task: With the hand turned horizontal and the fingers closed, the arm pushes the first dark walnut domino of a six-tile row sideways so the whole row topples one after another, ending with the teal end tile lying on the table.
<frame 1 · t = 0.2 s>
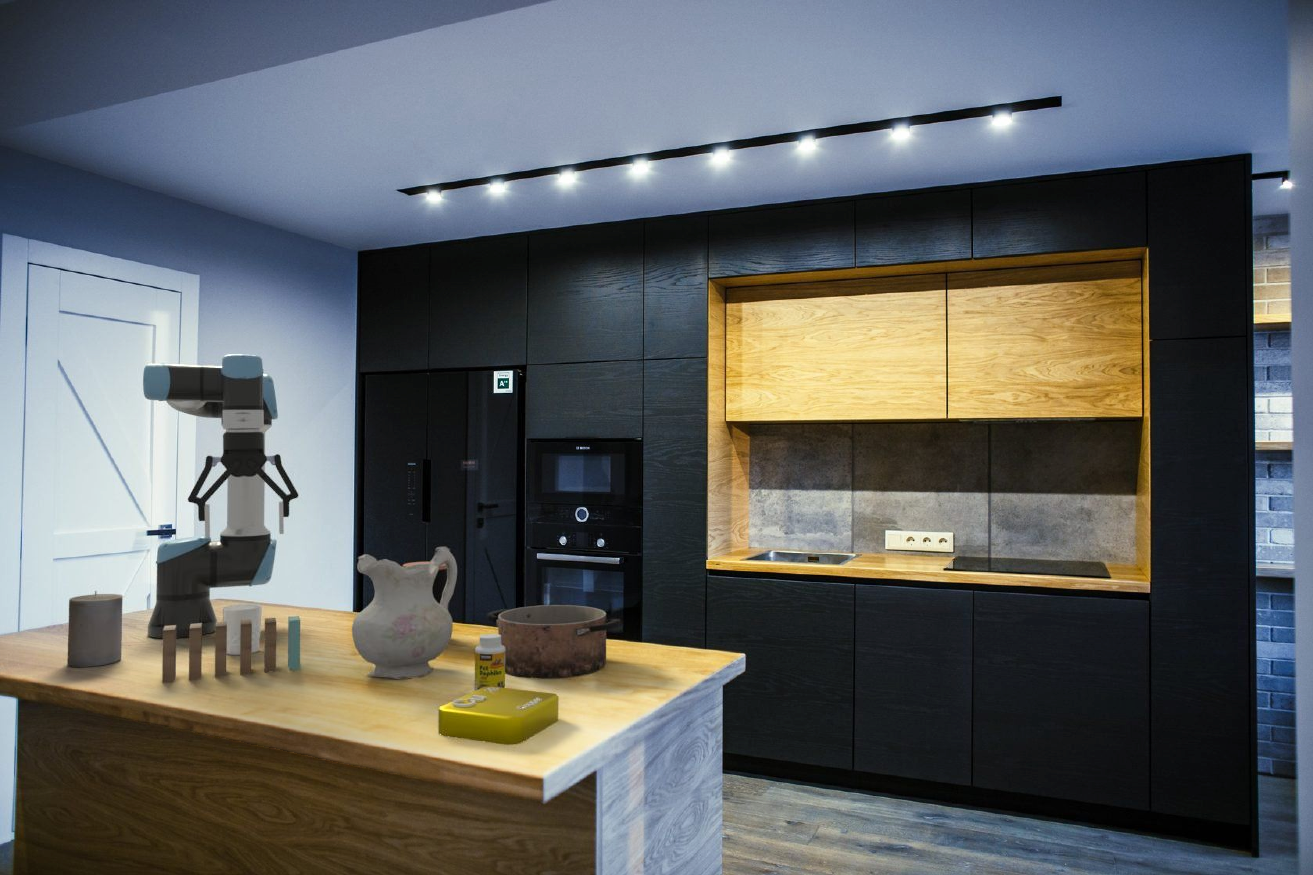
hand: (245, 535, 176), 27 cm above the worktop, fingers open, 13 cm apart
domino 3: (220, 673, 173), on the worktop
white cup: (242, 652, 193), on the worktop
ceramic pitcher: (407, 672, 175), on the worktop
coffee jar: (425, 641, 204), on the worktop
element tile: (499, 729, 140), on the worktop
domino 1: (169, 679, 169), on the worktop
domino 6: (293, 666, 179), on the worktop
pillar candle: (95, 662, 183), on the worktop
domino 4: (245, 671, 175), on the worktop
domino 5: (270, 669, 177), on the worktop
domino 2: (195, 676, 171), on the worktop
cooking pot: (552, 666, 180), on the worktop
supplement bottle: (489, 692, 160), on the worktop
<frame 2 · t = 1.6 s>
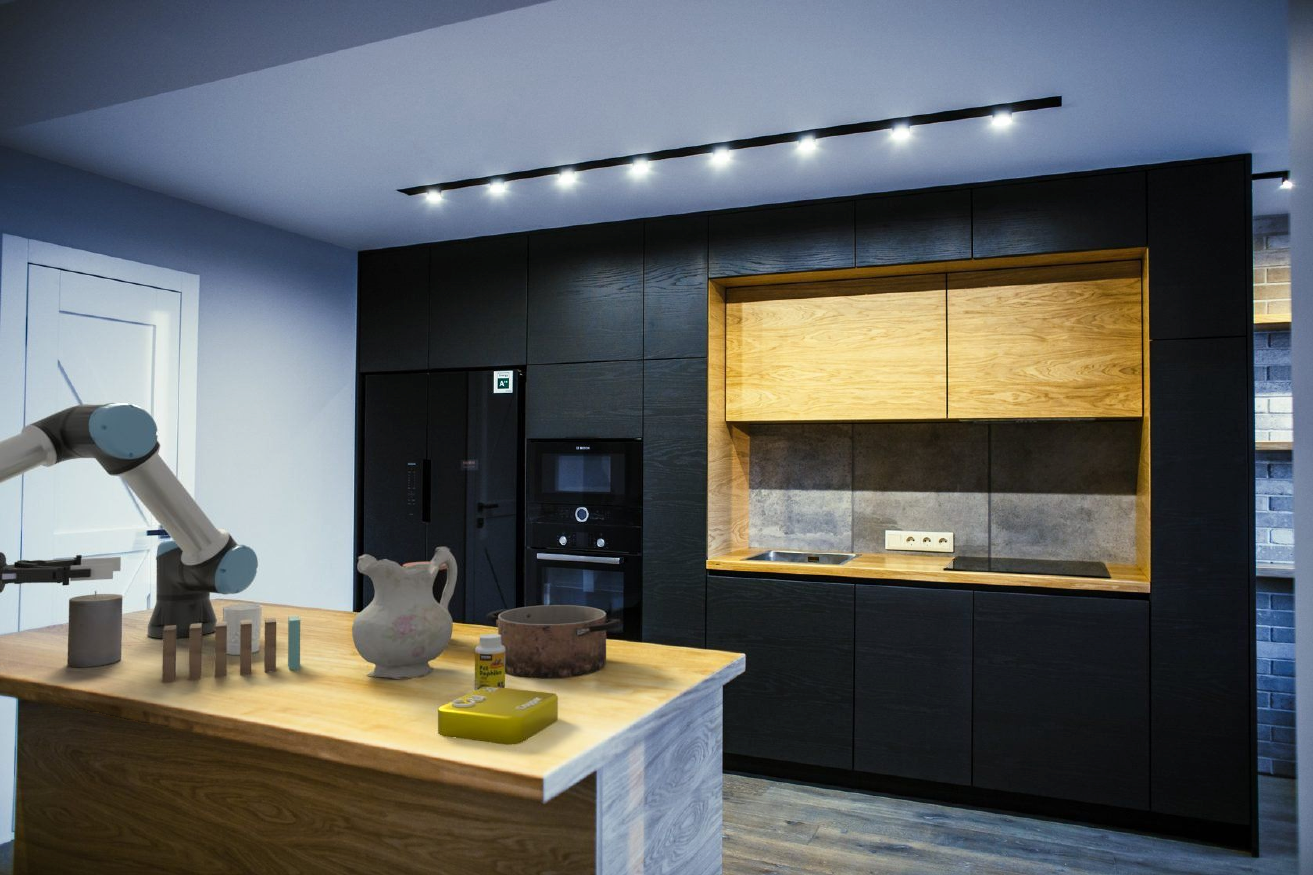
hand: (116, 567, 165), 22 cm above the worktop, fingers open, 12 cm apart
nothing on the worktop moved.
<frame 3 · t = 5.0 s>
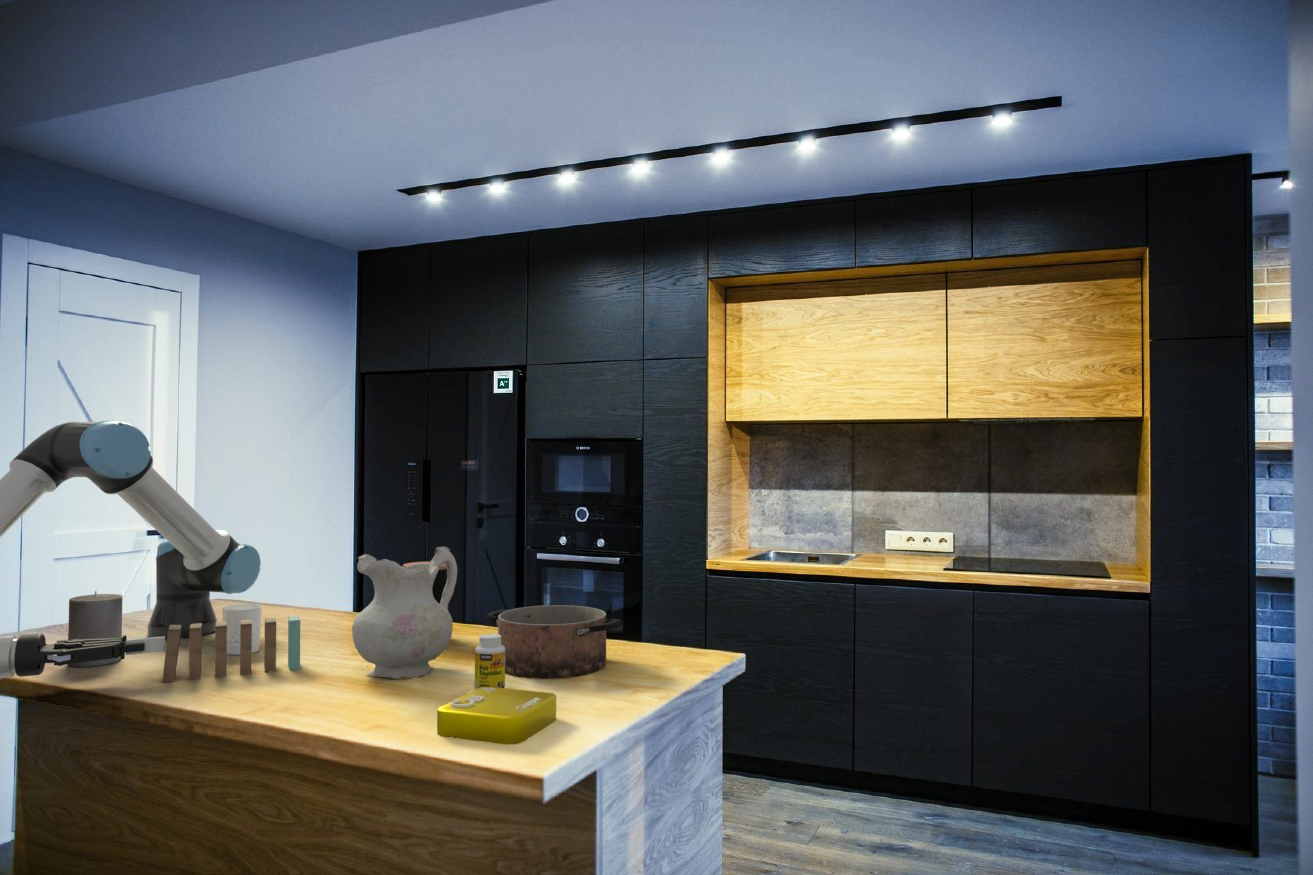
hand: (164, 643, 169), 7 cm above the worktop, fingers closed
domino 1: (169, 678, 169), on the worktop, tilted 5°, touching gripper
everything else where it was.
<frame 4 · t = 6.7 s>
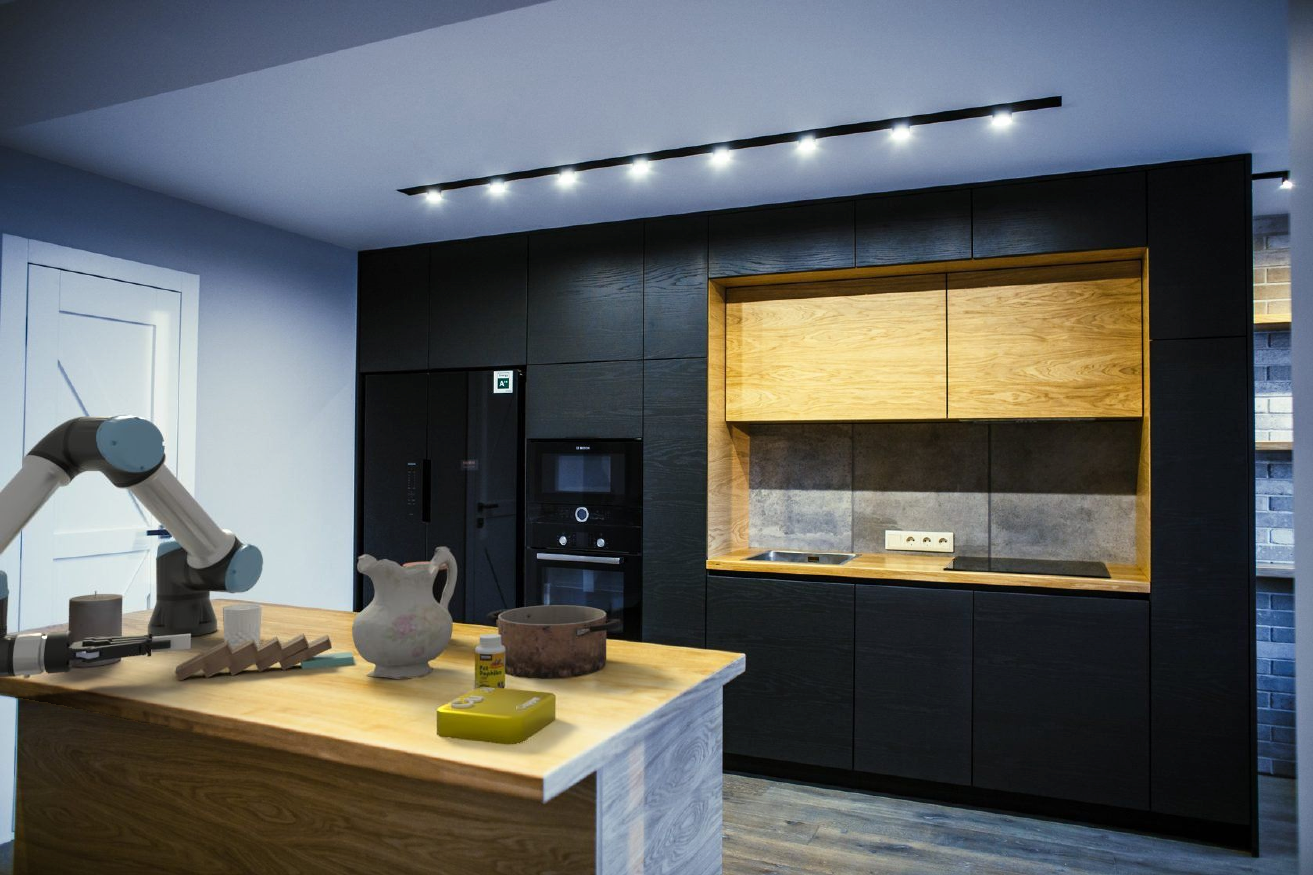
hand: (190, 641, 171), 7 cm above the worktop, fingers closed
domino 3: (230, 668, 174), point 1 cm above the worktop, tilted 64°, touching domino 2, domino 4
domino 1: (178, 673, 170), point 1 cm above the worktop, tilted 64°, touching domino 2
domino 6: (301, 663, 179), on the worktop, tilted 90°, touching domino 5
domino 4: (257, 664, 176), point 1 cm above the worktop, tilted 64°, touching domino 3, domino 5
domino 5: (281, 663, 178), point 1 cm above the worktop, tilted 67°, touching domino 4, domino 6
domino 2: (204, 670, 172), point 1 cm above the worktop, tilted 64°, touching domino 1, domino 3
everything else where it was.
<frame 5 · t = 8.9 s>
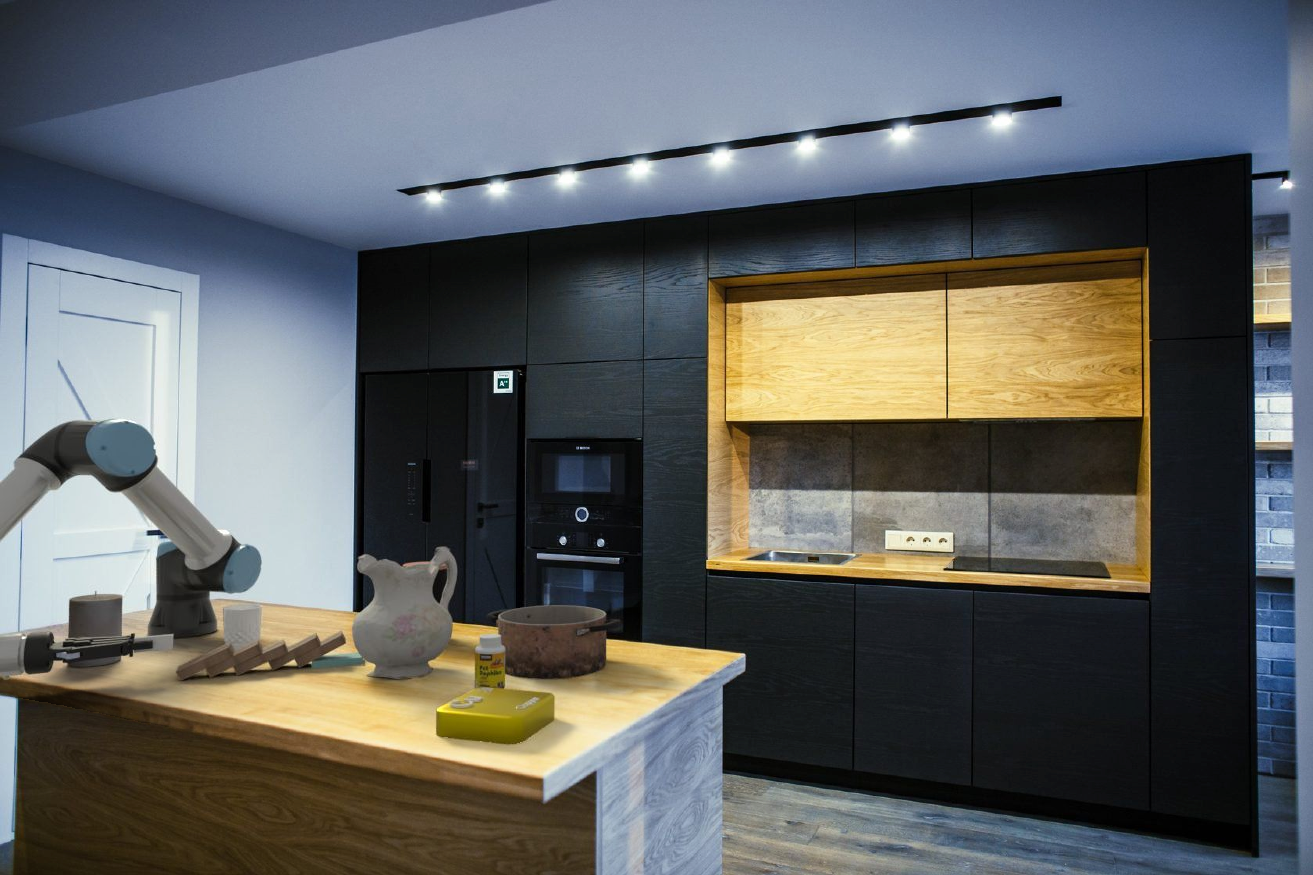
hand: (172, 641, 169), 7 cm above the worktop, fingers closed
domino 3: (235, 668, 174), point 1 cm above the worktop, tilted 69°, touching domino 2
domino 6: (311, 663, 180), on the worktop, tilted 90°
domino 4: (270, 663, 178), point 1 cm above the worktop, tilted 64°
domino 5: (297, 661, 179), point 1 cm above the worktop, tilted 64°
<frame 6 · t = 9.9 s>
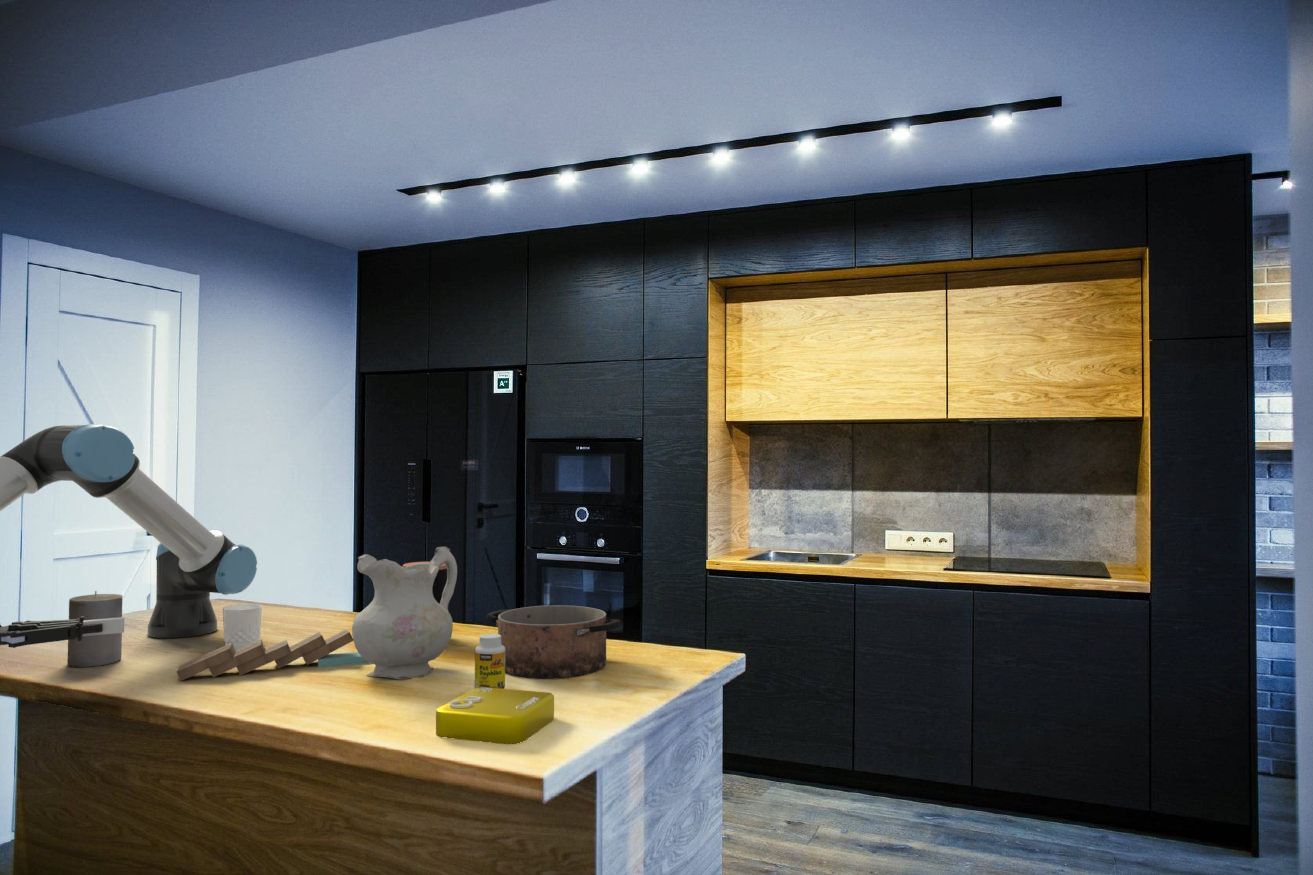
hand: (123, 624, 166), 11 cm above the worktop, fingers closed
domino 6: (318, 662, 181), on the worktop, tilted 90°, touching domino 5
domino 4: (275, 662, 178), point 1 cm above the worktop, tilted 65°, touching domino 5
domino 5: (303, 658, 180), point 1 cm above the worktop, tilted 66°, touching domino 4, domino 6
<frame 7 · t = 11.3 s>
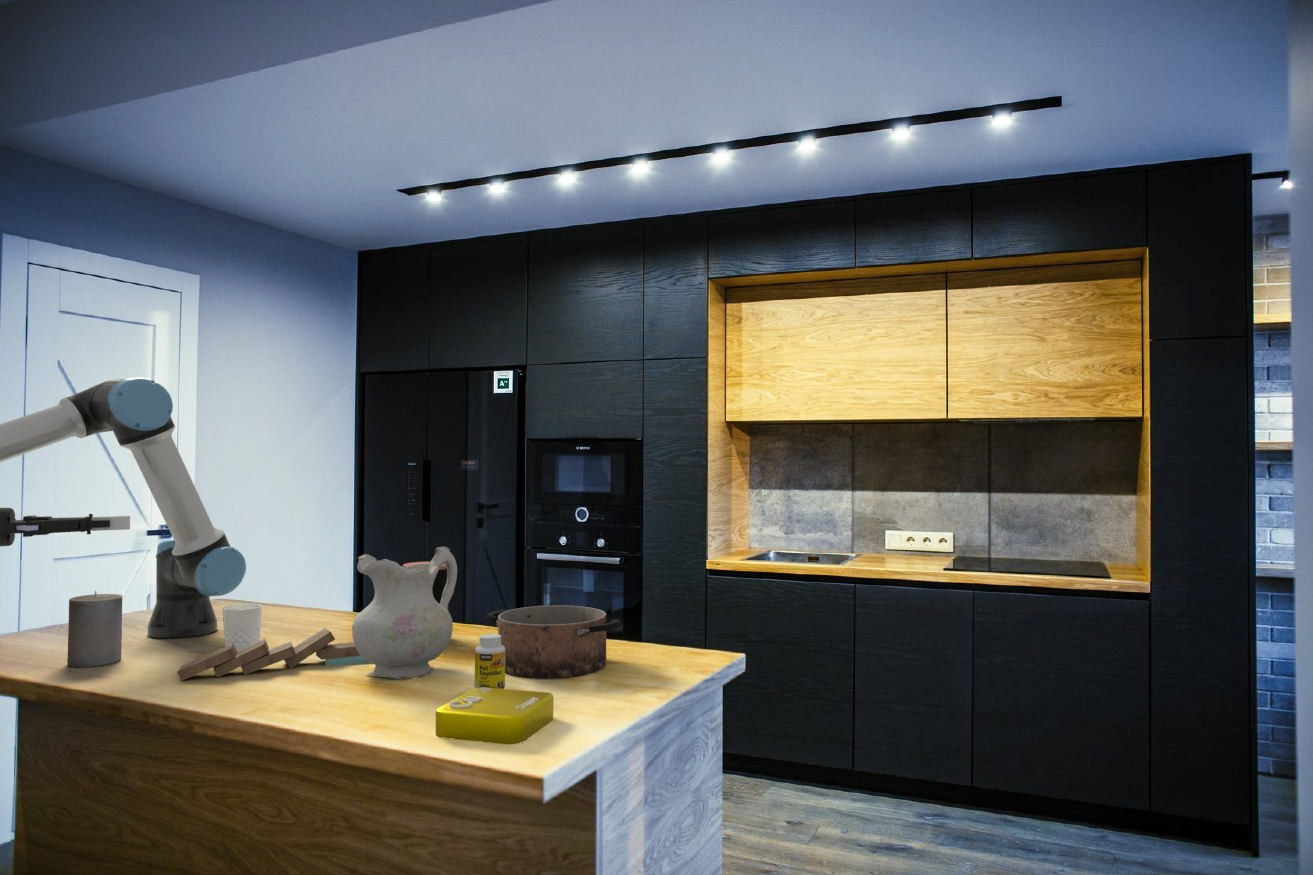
hand: (129, 522, 178), 30 cm above the worktop, fingers closed
domino 6: (326, 662, 182), on the worktop, tilted 90°, touching domino 5
domino 4: (285, 661, 179), point 1 cm above the worktop, tilted 61°, touching domino 5
domino 5: (318, 652, 182), point 2 cm above the worktop, tilted 90°, touching domino 4, domino 6
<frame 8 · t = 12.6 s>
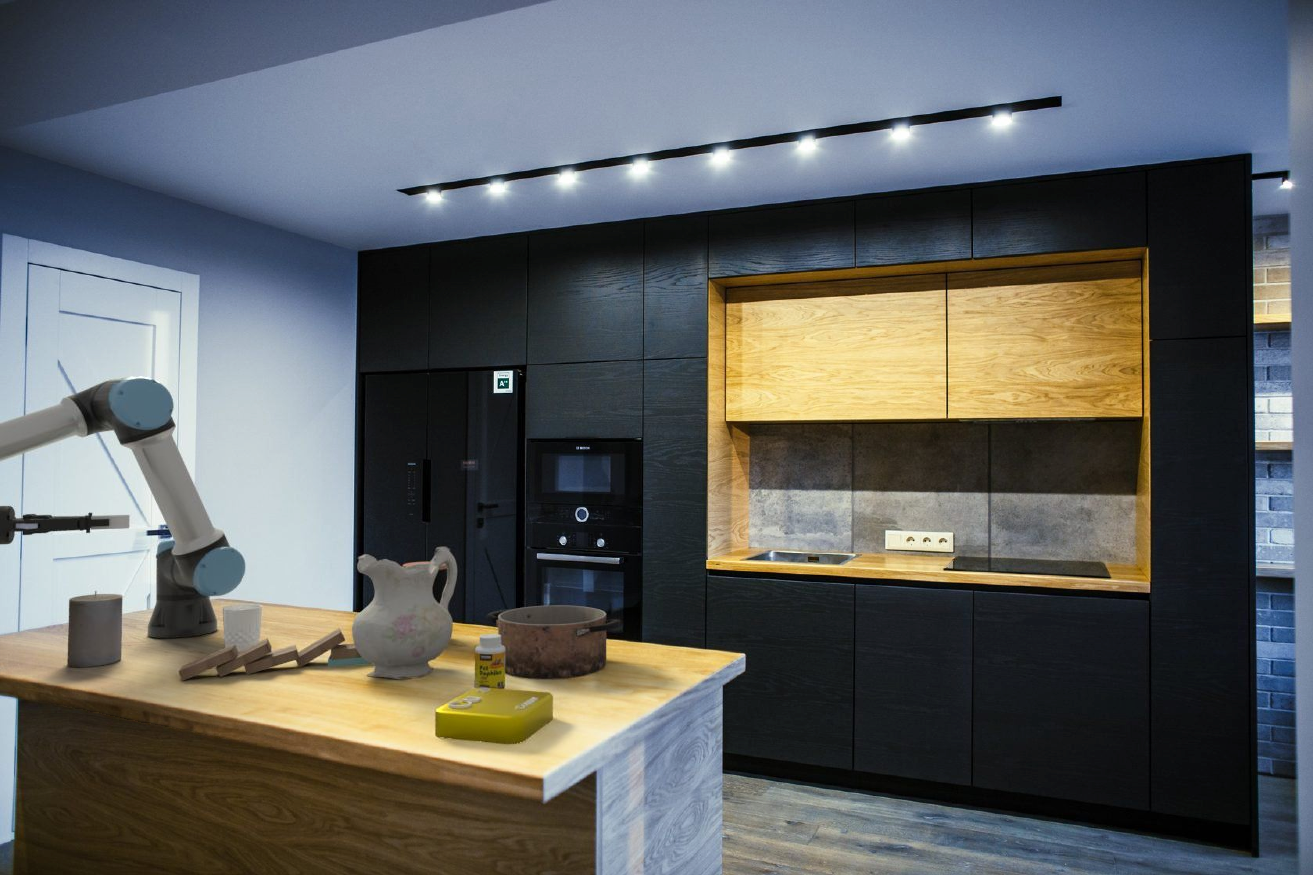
hand: (128, 521, 178), 30 cm above the worktop, fingers closed
domino 3: (245, 667, 174), point 1 cm above the worktop, tilted 77°
domino 4: (297, 660, 180), point 1 cm above the worktop, tilted 61°, touching domino 5
domino 5: (331, 652, 181), point 2 cm above the worktop, tilted 90°, touching domino 4, domino 6
domino 2: (219, 669, 172), point 1 cm above the worktop, tilted 65°, touching domino 1
at the end: domino 6 tilted 90°; domino 3 tilted 78°; domino 1 tilted 69° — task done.
